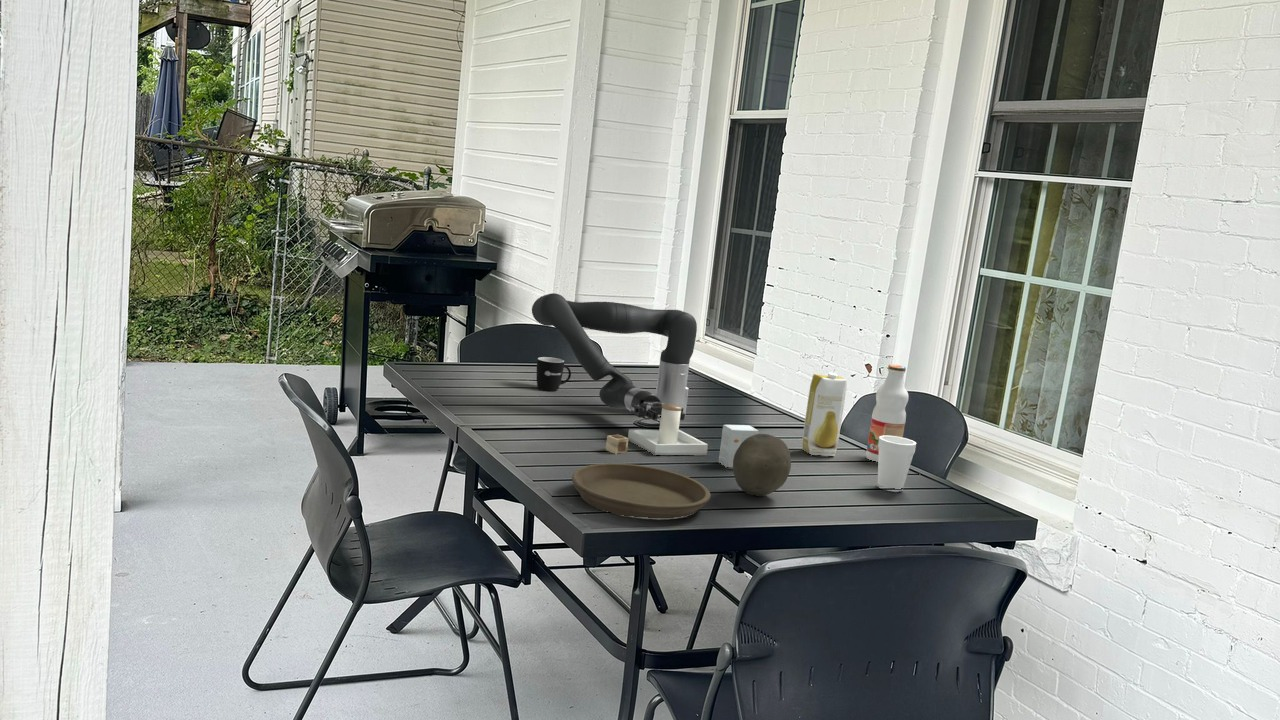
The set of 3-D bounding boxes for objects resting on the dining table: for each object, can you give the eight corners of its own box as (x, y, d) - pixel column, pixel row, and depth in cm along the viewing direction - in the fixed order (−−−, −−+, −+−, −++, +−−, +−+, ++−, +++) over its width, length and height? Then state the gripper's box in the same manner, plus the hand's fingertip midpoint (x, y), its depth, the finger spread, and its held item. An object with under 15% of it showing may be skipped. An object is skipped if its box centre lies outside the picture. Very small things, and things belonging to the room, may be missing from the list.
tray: (677, 439, 290) (678, 429, 290) (706, 455, 276) (707, 444, 276) (627, 440, 282) (628, 429, 282) (654, 456, 269) (656, 445, 268)
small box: (744, 463, 273) (750, 425, 271) (753, 469, 268) (759, 430, 266) (717, 462, 270) (722, 423, 268) (726, 468, 265) (731, 429, 263)
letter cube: (616, 449, 271) (618, 433, 271) (627, 453, 268) (629, 437, 268) (605, 450, 269) (607, 434, 268) (615, 454, 266) (617, 438, 265)
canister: (670, 442, 283) (675, 403, 281) (680, 447, 278) (685, 408, 276) (653, 442, 280) (658, 403, 279) (663, 447, 276) (668, 407, 274)
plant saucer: (730, 505, 233) (733, 486, 233) (666, 536, 207) (669, 514, 206) (615, 473, 248) (618, 455, 247) (542, 498, 221) (544, 477, 221)
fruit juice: (895, 467, 289) (911, 370, 285) (862, 460, 293) (877, 364, 288) (900, 460, 298) (916, 367, 293) (868, 454, 301) (883, 361, 297)
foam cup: (863, 484, 265) (871, 436, 263) (886, 481, 271) (894, 434, 269) (893, 495, 258) (901, 446, 256) (915, 492, 264) (923, 444, 262)
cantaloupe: (715, 491, 242) (724, 430, 240) (753, 484, 252) (761, 425, 250) (762, 508, 233) (771, 445, 230) (799, 501, 243) (808, 440, 240)
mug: (538, 392, 333) (542, 361, 332) (530, 386, 341) (534, 356, 340) (573, 393, 338) (576, 363, 337) (564, 387, 346) (568, 358, 345)
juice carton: (809, 456, 289) (821, 373, 285) (797, 449, 297) (809, 368, 293) (838, 458, 292) (851, 376, 288) (826, 450, 299) (839, 370, 296)
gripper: (621, 390, 289) (649, 403, 275) (665, 390, 296) (693, 403, 282) (618, 415, 290) (645, 430, 276) (661, 415, 297) (690, 429, 283)
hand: (670, 416), depth 279 cm, fingers open, 8 cm apart
